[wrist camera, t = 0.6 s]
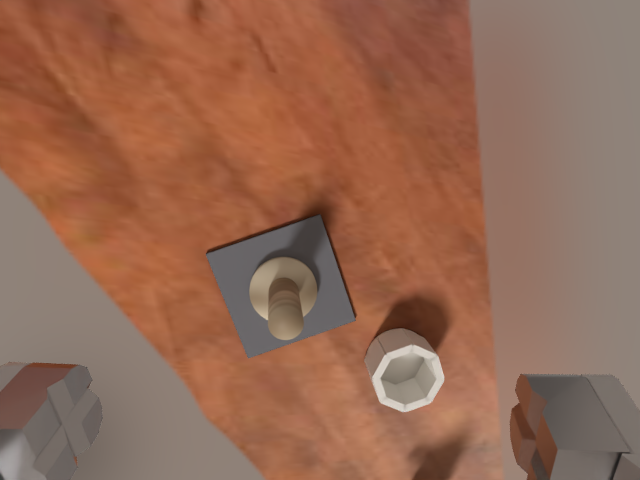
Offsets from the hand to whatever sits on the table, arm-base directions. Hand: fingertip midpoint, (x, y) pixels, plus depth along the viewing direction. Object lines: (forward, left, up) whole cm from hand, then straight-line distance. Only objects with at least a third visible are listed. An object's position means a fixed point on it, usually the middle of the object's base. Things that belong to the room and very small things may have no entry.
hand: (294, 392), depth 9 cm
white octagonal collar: (+22, +6, -38) cm, 44 cm away
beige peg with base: (+10, -3, -37) cm, 39 cm away
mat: (+10, -3, -38) cm, 39 cm away
